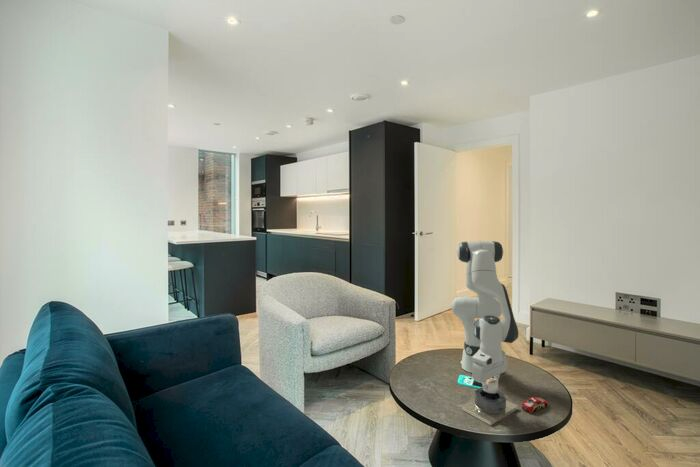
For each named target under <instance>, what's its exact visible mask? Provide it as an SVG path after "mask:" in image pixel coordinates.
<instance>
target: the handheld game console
mask: <svg viewBox="0 0 700 467" xmlns="http://www.w3.org/2000/svg"><path fill="white" fill-rule="evenodd" d="M457 384H458V385H461V386H465V387H469V388H474V389H477V390H478V389H480V388H482V383H479V382H477V381H475V380H474V379H473V377H472V376H469V375H464V374H459V377H458V379H457Z"/></svg>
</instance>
